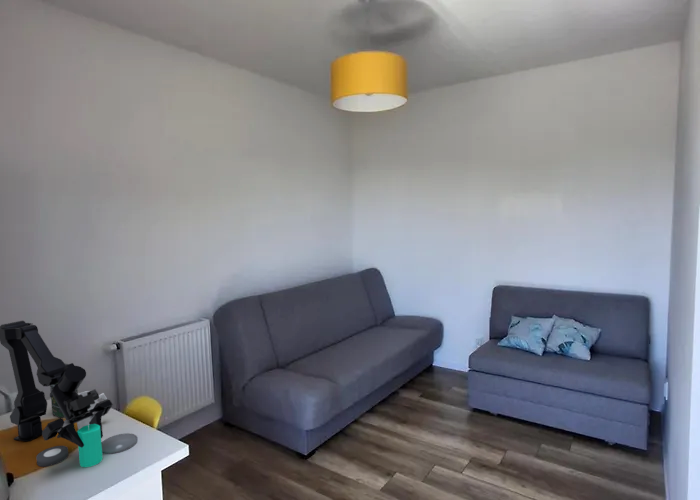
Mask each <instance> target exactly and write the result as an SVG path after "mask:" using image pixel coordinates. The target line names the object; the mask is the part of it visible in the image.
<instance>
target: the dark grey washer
mask: <svg viewBox="0 0 700 500" xmlns="http://www.w3.org/2000/svg"><path fill="white" fill-rule="evenodd" d="M68 457H69V448H68V446H65V445H56V446H52V447H48V448H46V449H44V450H41V451H40V452H39V453H38V454H37V455H36V457H35V458H36V464H37V466H38V467H43V468H44V467H51V466H54V465H58V464H60V463H62V462H64V461H65V460H66V459H67V458H68Z"/></svg>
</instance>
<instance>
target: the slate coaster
mask: <svg viewBox="0 0 700 500" xmlns="http://www.w3.org/2000/svg"><path fill="white" fill-rule="evenodd" d="M137 442H138V436H137V435H136V434H134V433H129V432H127V433H120V434H116V435H115V434H114V435H112V436H109V437H107V438H105V439H104V440H101V443H102V454H104V453H105V455H113V454H118V453H121V452H122V453H123V452H125V451H127V450H129V449H131V448H133V447H134V446H135V445H136V444H137Z"/></svg>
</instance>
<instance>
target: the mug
mask: <svg viewBox="0 0 700 500" xmlns="http://www.w3.org/2000/svg"><path fill="white" fill-rule="evenodd" d="M90 391H91V390H86V391H82V392H78V395H80V394H81V395H82V396H83V397H84V396H86V395H87V392H90ZM98 395H99V399H97V400H94V401H95V404H92V405H90V406H91V407H90V408H89V409H88V411H89V410H91V409H93V408H94V407H95V405H96V404H97V403H98V401H99V400H100V399H101V400H102V401H104V400H106V399H108V398H107V396H106V395H105V393H104V392H102V393H101V394H98ZM104 416H105V415H103V416H102V417H104ZM90 421H91V419H90V417H88V418H86V419H84V420H81V421H79V422H77V423H76V425H77V431H78V430H79V429H80V428H82V427H83V426H86V425H88V424H89V422H90ZM89 425H90V424H89Z"/></svg>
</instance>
